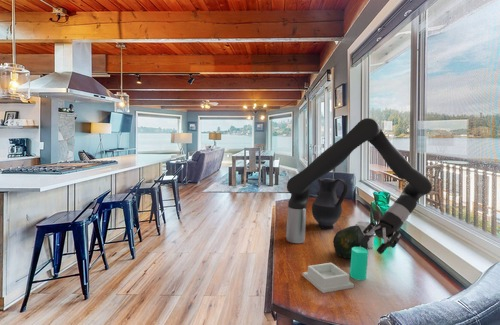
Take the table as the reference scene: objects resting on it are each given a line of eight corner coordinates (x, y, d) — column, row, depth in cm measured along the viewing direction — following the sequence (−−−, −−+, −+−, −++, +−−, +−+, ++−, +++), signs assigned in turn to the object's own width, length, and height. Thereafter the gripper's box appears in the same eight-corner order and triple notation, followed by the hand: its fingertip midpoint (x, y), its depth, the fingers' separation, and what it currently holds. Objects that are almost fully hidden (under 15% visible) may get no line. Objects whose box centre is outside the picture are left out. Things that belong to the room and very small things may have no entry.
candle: (353, 271, 115) (355, 241, 114) (368, 276, 111) (370, 245, 110) (347, 276, 111) (349, 245, 110) (363, 281, 107) (365, 250, 106)
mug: (373, 250, 139) (375, 227, 138) (354, 247, 142) (355, 224, 141) (372, 242, 150) (373, 221, 149) (354, 239, 153) (355, 218, 152)
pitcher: (322, 221, 185) (325, 174, 182) (352, 230, 169) (355, 179, 167) (305, 225, 174) (307, 176, 171) (334, 235, 158) (338, 181, 156)
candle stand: (302, 275, 110) (303, 264, 109) (331, 271, 114) (331, 260, 114) (322, 293, 98) (323, 281, 97) (353, 287, 102) (354, 275, 102)
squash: (321, 241, 133) (343, 222, 124) (340, 236, 142) (361, 218, 134) (340, 269, 125) (364, 251, 117) (358, 262, 135) (381, 245, 127)
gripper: (376, 207, 121) (352, 236, 117) (405, 216, 107) (379, 249, 104) (385, 218, 123) (361, 247, 120) (415, 228, 110) (389, 261, 107)
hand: (370, 248), depth 112 cm, fingers open, 8 cm apart
